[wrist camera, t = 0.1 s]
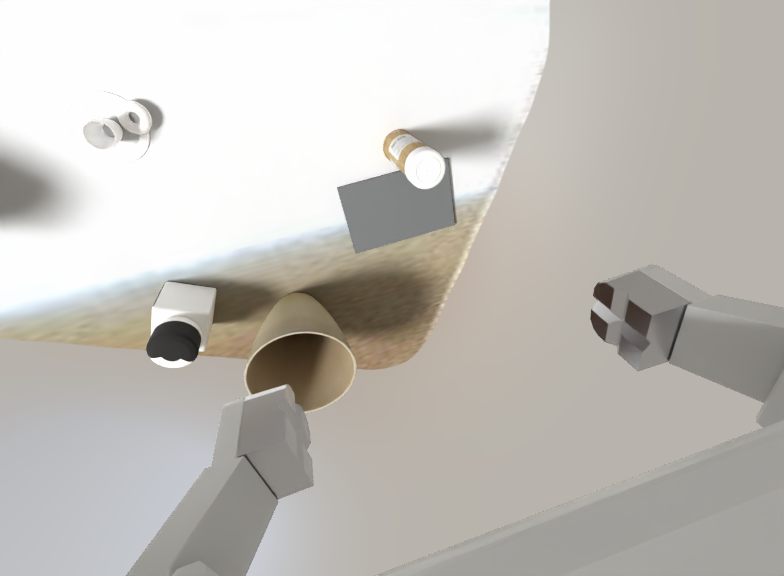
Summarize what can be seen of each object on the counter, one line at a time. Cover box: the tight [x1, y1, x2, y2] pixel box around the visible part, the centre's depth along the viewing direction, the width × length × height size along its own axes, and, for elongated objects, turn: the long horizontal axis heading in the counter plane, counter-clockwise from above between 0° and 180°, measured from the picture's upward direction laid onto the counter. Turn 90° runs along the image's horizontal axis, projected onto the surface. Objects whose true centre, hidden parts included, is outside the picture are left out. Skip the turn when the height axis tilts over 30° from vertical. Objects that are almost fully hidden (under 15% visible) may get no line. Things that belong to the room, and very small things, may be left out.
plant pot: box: [244, 293, 357, 413], centre depth 58 cm, size 15×15×16 cm
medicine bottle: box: [146, 281, 217, 368], centre depth 54 cm, size 7×7×12 cm
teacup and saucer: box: [70, 91, 152, 163], centre depth 44 cm, size 9×8×4 cm
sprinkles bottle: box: [383, 130, 446, 189], centre depth 48 cm, size 5×5×13 cm
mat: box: [337, 158, 455, 253], centre depth 59 cm, size 11×17×1 cm, turn 101°
